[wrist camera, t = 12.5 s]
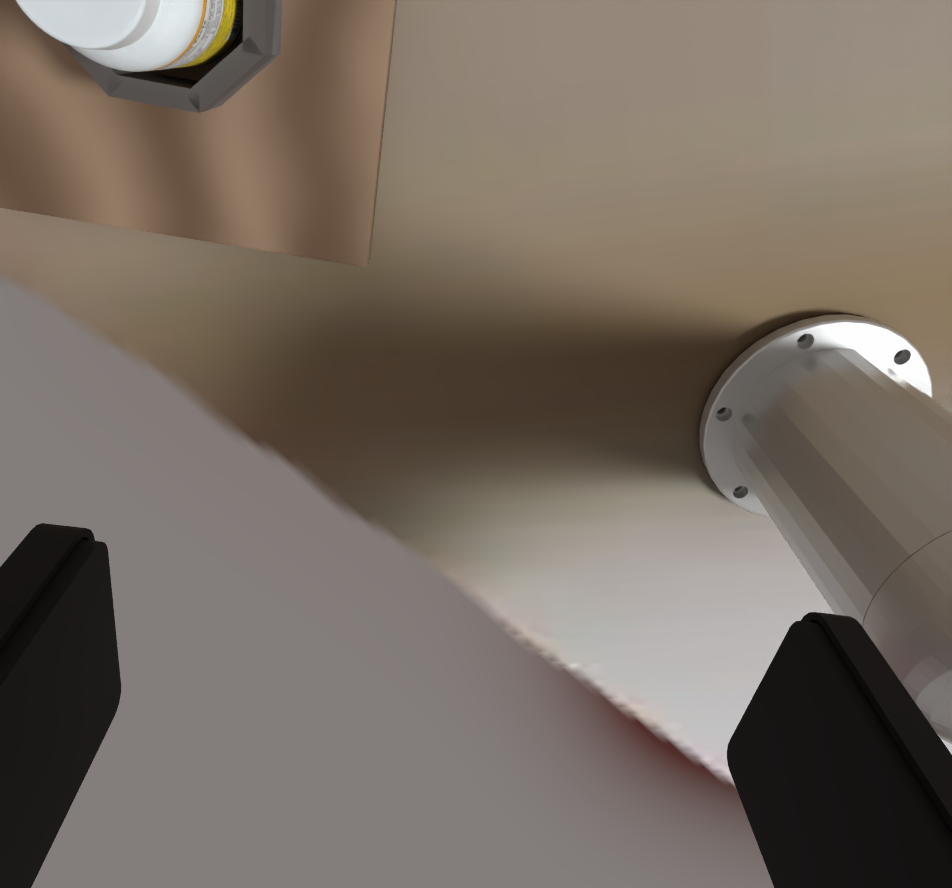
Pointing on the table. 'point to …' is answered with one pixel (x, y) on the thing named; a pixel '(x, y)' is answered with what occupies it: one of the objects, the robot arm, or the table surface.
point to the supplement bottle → (142, 30)
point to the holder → (208, 132)
